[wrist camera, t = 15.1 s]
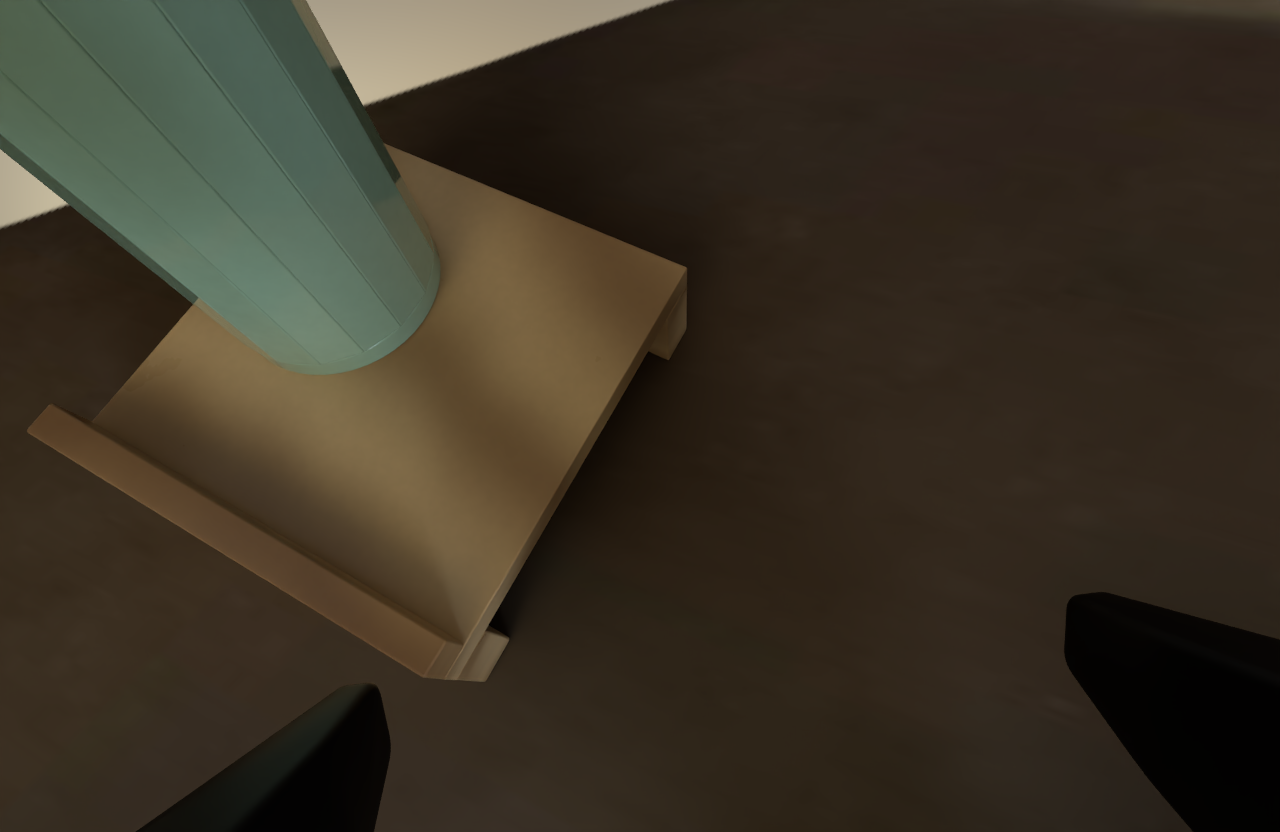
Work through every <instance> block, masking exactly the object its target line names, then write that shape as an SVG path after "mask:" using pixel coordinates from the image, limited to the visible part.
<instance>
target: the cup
mask: <svg viewBox="0 0 1280 832" xmlns="http://www.w3.org/2000/svg"><path fill="white" fill-rule="evenodd" d="M0 149H1V150H2V151H3V152H4V153H6V154H7V155H8V156H10V157H11V158H12V159H13V160H14V161H16V162H17V163H18V164H19V165H21V166H22V167H23V168H24V169H26V170H27V171H28V172H29V173H31V174H32V175H33V176H34V177H36V178H37V179H38V180H39V181H41V182H42V183H43V184H44V185H46V186H47V187H48V188H49V189H51V190H52V191H53V192H54V193H56V194H57V195H58V196H59V197H61V198H62V199H63V200H64V201H66V202H67V203H68V204H69V205H71V206H72V207H73V208H74V209H76V210H77V211H78V212H79V213H81V214H82V215H83V216H84V217H86V218H87V219H88V220H89V221H91V222H92V223H93V224H94V225H96V226H97V227H98V228H99V229H101V230H102V231H103V232H104V233H106V234H107V235H108V236H109V237H111V238H112V239H113V240H114V241H116V242H117V243H118V244H119V245H121V246H122V247H123V248H124V249H126V250H127V251H128V252H129V253H130V254H132V255H133V256H134V257H135V258H137V259H138V260H139V261H140V262H142V263H143V264H144V265H145V266H147V267H148V268H149V269H150V270H152V271H153V272H154V273H155V274H157V275H158V276H159V277H160V278H162V279H163V280H164V281H165V282H167V283H168V284H169V285H170V286H172V287H173V288H174V289H175V290H177V291H178V292H179V293H180V294H182V295H183V296H184V297H185V298H187V299H188V300H189V301H190V302H192V303H193V304H194V305H195V306H197V307H198V308H199V309H200V310H202V311H203V312H204V313H205V314H207V315H208V316H209V317H210V318H212V319H213V320H214V321H215V322H217V323H218V324H219V325H220V326H222V327H223V328H224V329H225V330H227V331H228V332H229V333H230V334H232V335H233V336H234V337H235V338H237V339H238V340H239V341H240V342H242V343H243V344H244V345H245V346H247V347H249V348H251V349H253V350H255V351H256V352H257V353H258V354H260V355H261V356H262V357H263V358H265V359H266V360H268V361H269V362H271V363H273V364H274V365H276V366H278V367H281V368H283V369H285V370H289V371H292V372H296V373H301V374H309V375H331V374H339V373H344V372H348V371H352V370H356V369H359V368H361V367H364V366H367V365H369V364H371V363H373V362H375V361H378V360H380V359H382V358H383V357H385V356H386V355H388V354H390V353H391V352H393V351H394V350H395V349H397V348H398V347H399V346H400V345H402V344H403V343H404V342H405V341H406V340H407V339H408V338H409V337H410V336H411V335H412V334H413V333H414V332H415V331H416V330H417V329H418V327H419V326H420V325H421V324H422V322H423V321H424V319H425V318H426V316H427V315H428V313H429V311H430V309H431V307H432V305H433V303H434V301H435V298H436V295H437V291H438V288H439V282H440V269H441V264H440V258H439V253H438V250H437V246H436V244H435V242H434V240H433V238H432V236H431V234H430V232H429V229H428V225H427V223H426V221H425V219H424V217H423V215H422V214H421V212H420V210H419V208H418V206H417V204H416V202H415V201H414V199H413V197H412V195H411V193H410V191H409V190H408V188H407V186H406V184H405V182H404V180H403V178H402V177H401V175H400V173H399V171H398V169H397V167H396V166H395V164H394V162H393V160H392V158H391V156H390V154H389V153H388V151H387V149H386V147H385V145H384V143H383V142H382V140H381V138H380V136H379V134H378V132H377V131H376V129H375V127H374V125H373V123H372V121H371V119H370V118H369V116H368V114H367V112H366V110H365V108H364V107H363V105H362V103H361V101H360V99H359V97H358V96H357V94H356V92H355V90H354V88H353V86H352V84H351V83H350V81H349V79H348V77H347V75H346V74H345V71H344V70H343V68H342V66H341V64H340V62H339V60H338V59H337V57H336V55H335V53H334V51H333V50H332V47H331V46H330V44H329V42H328V40H327V38H326V37H325V35H324V33H323V31H322V29H321V27H320V25H319V24H318V22H317V20H316V18H315V16H314V14H313V13H312V11H311V9H310V7H309V5H308V3H307V1H306V0H0Z"/></svg>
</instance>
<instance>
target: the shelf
mask: <svg viewBox="0 0 1280 832" xmlns="http://www.w3.org/2000/svg"><path fill="white" fill-rule="evenodd" d="M384 145H385V147H386V149H387V151H388V153H389V154H390V156H391V158H392V160H393V162H394V164H395V166H396V167H397V169H398V171H399V173H400V175H401V177H402V178H403V180H404V182H405V184H406V186H407V188H408V190H409V191H410V193H411V195H412V197H413V199H414V201H415V202H416V204H417V206H418V208H419V210H420V212H421V214H422V215H423V217H424V219H425V221H426V223H427V225H428V229H429V232H430V234H431V236H432V238H433V240H434V242H435V244H436V246H437V250H438V253H439V258H440V264H441V269H440V282H439V288H438V291H437V295H436V298H435V301H434V303H433V305H432V307H431V309H430V311H429V313H428V315H427V316H426V318H425V319H424V321H423V322H422V324H421V325H420V326H419V327H418V329H417V330H416V331H415V332H414V333H413V334H412V335H411V336H410V337H409V338H408V339H407V340H406V341H405V342H404V343H403V344H402V345H400V346H399V347H398V348H397V349H395V350H394V351H393V352H391V353H390V354H388V355H386V356H385V357H383V358H382V359H380V360H378V361H375V362H373V363H371V364H369V365H367V366H364V367H361V368H359V369H356V370H352V371H348V372H344V373H339V374H331V375H309V374H301V373H296V372H292V371H289V370H285V369H283V368H281V367H278V366H276V365H274V364H273V363H271V362H269V361H268V360H266V359H265V358H263V357H262V356H261V355H260V354H258V353H257V352H256V351H255V350H253V349H251V348H249V347H247V346H245V345H244V344H243V343H242V342H240V341H239V340H238V339H237V338H235V337H234V336H233V335H232V334H230V333H229V332H228V331H227V330H225V329H224V328H223V327H222V326H220V325H219V324H218V323H217V322H215V321H214V320H213V319H212V318H210V317H209V316H208V315H207V314H205V313H204V312H203V311H202V310H200V309H199V308H198V307H197V306H195V305H194V304H193V305H192V306H191V308H190V309H189V310H188V311H187V312H186V313H185V315H184V316H183V317H182V318H181V319H180V320H179V322H178V323H177V324H176V325H175V326H174V327H173V328H172V330H171V331H170V332H169V333H168V334H167V335H166V337H165V338H164V339H163V340H162V341H161V342H160V344H159V345H158V346H157V347H156V348H155V349H154V351H153V352H152V353H151V354H150V355H149V356H148V357H147V359H146V360H145V361H144V362H143V363H142V364H141V366H140V367H139V368H138V369H137V370H136V371H135V373H134V374H133V375H132V376H131V377H130V378H129V380H128V381H127V382H126V383H125V384H124V385H123V386H122V388H121V389H120V390H119V391H118V392H117V393H116V395H115V396H114V397H113V398H112V399H111V400H110V402H109V403H108V404H107V405H106V406H105V407H104V409H103V410H102V411H101V412H100V413H99V414H98V415H97V417H96V418H95V419H94V420H93V421H92V422H91V421H89V420H87V419H85V418H83V417H81V416H79V415H76V414H74V413H72V412H70V411H68V410H66V409H64V408H61V407H59V406H57V405H55V404H50V405H49V406H48V407H47V408H46V409H45V410H44V411H43V412H42V413H41V415H40V416H39V417H38V418H37V419H36V420H35V421H34V422H33V423H32V425H31V426H30V427H29V428H28V429H27V432H28V433H29V434H31V435H32V436H34V437H36V438H37V439H39V440H40V441H42V442H44V443H45V444H47V445H48V446H50V447H52V448H53V449H55V450H57V451H58V452H60V453H61V454H63V455H65V456H66V457H68V458H69V459H71V460H73V461H74V462H76V463H77V464H79V465H81V466H82V467H84V468H86V469H87V470H89V471H90V472H92V473H94V474H95V475H97V476H98V477H100V478H102V479H103V480H105V481H107V482H108V483H110V484H111V485H113V486H115V487H116V488H118V489H119V490H121V491H123V492H124V493H126V494H128V495H129V496H131V497H132V498H134V499H136V500H137V501H139V502H140V503H142V504H144V505H145V506H147V507H148V508H150V509H152V510H153V511H155V512H157V513H158V514H160V515H161V516H163V517H165V518H166V519H168V520H169V521H171V522H173V523H174V524H176V525H178V526H179V527H181V528H182V529H184V530H186V531H187V532H189V533H190V534H192V535H194V536H195V537H197V538H199V539H200V540H202V541H203V542H205V543H207V544H208V545H210V546H211V547H213V548H215V549H216V550H218V551H220V552H221V553H223V554H224V555H226V556H228V557H229V558H231V559H232V560H234V561H236V562H237V563H239V564H240V565H242V566H244V567H245V568H247V569H249V570H250V571H252V572H253V573H255V574H257V575H258V576H260V577H261V578H263V579H265V580H266V581H268V582H270V583H271V584H273V585H274V586H276V587H278V588H279V589H281V590H282V591H284V592H286V593H287V594H289V595H291V596H292V597H294V598H295V599H297V600H299V601H300V602H302V603H303V604H305V605H307V606H308V607H310V608H312V609H313V610H315V611H316V612H318V613H320V614H321V615H323V616H324V617H326V618H328V619H329V620H331V621H332V622H334V623H336V624H337V625H339V626H341V627H342V628H344V629H345V630H347V631H349V632H350V633H352V634H353V635H355V636H357V637H358V638H360V639H362V640H363V641H365V642H366V643H368V644H370V645H371V646H373V647H374V648H376V649H378V650H379V651H381V652H383V653H384V654H386V655H387V656H389V657H391V658H392V659H394V660H395V661H397V662H399V663H400V664H402V665H403V666H405V667H407V668H408V669H410V670H412V671H413V672H415V673H416V674H418V675H420V676H421V677H424V678H437V679H446V680H467V681H481V682H485V681H486V680H487V678H488V677H489V675H490V673H491V671H492V670H493V668H494V666H495V664H496V663H497V661H498V659H499V657H500V656H501V654H502V652H503V650H504V649H505V647H506V645H507V643H508V642H509V637H508V636H506V635H504V634H502V633H501V632H499V631H497V630H496V629H494V628H492V627H490V626H489V623H490V621H491V620H492V618H493V616H494V615H495V613H496V611H497V609H498V608H499V606H500V604H501V603H502V601H503V599H504V597H505V596H506V594H507V592H508V591H509V589H510V587H511V585H512V584H513V582H514V580H515V579H516V577H517V575H518V573H519V572H520V570H521V568H522V567H523V565H524V563H525V561H526V560H527V558H528V556H529V555H530V553H531V551H532V549H533V548H534V546H535V544H536V543H537V541H538V539H539V537H540V536H541V534H542V532H543V531H544V529H545V527H546V525H547V524H548V522H549V520H550V519H551V517H552V515H553V513H554V512H555V510H556V508H557V507H558V505H559V503H560V501H561V500H562V498H563V496H564V495H565V493H566V491H567V489H568V488H569V486H570V484H571V483H572V481H573V479H574V477H575V476H576V474H577V472H578V471H579V469H580V467H581V465H582V464H583V462H584V460H585V459H586V457H587V455H588V453H589V452H590V450H591V448H592V447H593V445H594V443H595V441H596V440H597V438H598V436H599V435H600V433H601V431H602V429H603V428H604V426H605V424H606V423H607V421H608V419H609V417H610V416H611V414H612V412H613V411H614V409H615V407H616V405H617V404H618V402H619V400H620V399H621V397H622V395H623V393H624V392H625V390H626V388H627V387H628V385H629V383H630V381H631V380H632V378H633V376H634V375H635V373H636V371H637V369H638V368H639V366H640V364H641V363H642V361H643V359H644V357H645V356H646V354H647V352H648V351H649V352H651V353H653V354H655V355H658V356H660V357H662V358H664V359H667V360H669V359H670V357H671V356H672V354H673V352H674V350H675V349H676V347H677V345H678V343H679V341H680V340H681V338H682V336H683V334H684V333H685V331H686V325H687V268H686V267H684V266H682V265H679V264H677V263H674V262H672V261H669V260H667V259H664V258H662V257H660V256H657V255H655V254H652V253H650V252H647V251H645V250H643V249H640V248H638V247H635V246H633V245H630V244H628V243H625V242H623V241H621V240H618V239H616V238H613V237H611V236H608V235H606V234H604V233H601V232H599V231H596V230H594V229H591V228H589V227H586V226H584V225H582V224H579V223H577V222H574V221H572V220H569V219H567V218H564V217H562V216H560V215H557V214H555V213H552V212H550V211H547V210H545V209H543V208H540V207H538V206H535V205H533V204H530V203H528V202H525V201H523V200H521V199H518V198H516V197H513V196H511V195H508V194H506V193H504V192H501V191H499V190H496V189H494V188H491V187H489V186H486V185H484V184H482V183H479V182H477V181H474V180H472V179H469V178H467V177H464V176H462V175H460V174H457V173H455V172H452V171H450V170H447V169H445V168H443V167H440V166H438V165H435V164H433V163H430V162H428V161H425V160H423V159H421V158H418V157H416V156H413V155H411V154H408V153H406V152H403V151H401V150H399V149H396V148H394V147H391V146H389V145H386V144H384Z"/></svg>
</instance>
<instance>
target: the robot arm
mask: <svg viewBox="0 0 1280 832" xmlns="http://www.w3.org/2000/svg"><path fill="white" fill-rule="evenodd" d="M1064 653H1065V659H1066V662H1067V665H1068V667H1069V669H1070V671H1071V673H1072V674H1073V676H1074V677H1075V678H1076V680H1077V681H1078V683H1079V684H1080V685H1081V687H1082V688H1083V690H1084V691H1085V692H1086V694H1087V695H1088V697H1089V698H1090V699H1091V701H1092V702H1093V703H1094V705H1095V706H1096V708H1097V709H1098V710H1099V712H1100V713H1101V715H1102V716H1103V717H1104V719H1105V720H1106V722H1107V723H1108V724H1109V726H1110V727H1111V729H1112V730H1113V731H1114V733H1115V734H1116V736H1117V737H1118V738H1119V740H1120V741H1121V743H1122V744H1123V745H1124V747H1125V748H1126V750H1127V751H1128V752H1129V754H1130V755H1131V756H1132V758H1133V759H1134V761H1135V762H1136V763H1137V764H1138V766H1139V767H1140V768H1141V770H1142V771H1143V772H1144V774H1145V775H1146V776H1147V778H1148V779H1149V780H1150V781H1151V782H1152V784H1153V785H1154V786H1155V787H1156V789H1157V790H1158V791H1159V792H1160V793H1161V795H1162V796H1163V797H1164V798H1165V799H1166V801H1167V802H1168V803H1169V804H1170V805H1171V806H1172V808H1173V809H1174V810H1175V811H1176V812H1177V813H1178V815H1179V816H1180V817H1181V818H1182V819H1183V820H1184V821H1185V823H1186V824H1187V825H1188V826H1189V827H1190V828H1191V830H1192V831H1193V832H1280V640H1279V639H1275V638H1271V637H1268V636H1264V635H1260V634H1257V633H1253V632H1250V631H1246V630H1242V629H1239V628H1235V627H1231V626H1228V625H1224V624H1220V623H1217V622H1213V621H1209V620H1206V619H1202V618H1198V617H1195V616H1191V615H1187V614H1184V613H1180V612H1176V611H1173V610H1169V609H1165V608H1162V607H1158V606H1154V605H1151V604H1147V603H1143V602H1140V601H1136V600H1132V599H1129V598H1125V597H1121V596H1118V595H1114V594H1110V593H1106V592H1096V593H1088V594H1080V595H1075V596H1073V597H1072V598H1071V599H1070V600H1069V602H1068V604H1067V610H1066V628H1065V645H1064ZM390 752H391V743H390V735H389V731H388V726H387V721H386V717H385V712H384V708H383V703H382V698H381V694H380V691H379V689H378V687H377V686H376V685H375V684H373V683H363V684H355V685H346V686H343V687H340V688H339V689H337V690H336V691H334V692H333V693H332V694H330V695H329V696H327V697H326V698H325V699H323V700H322V701H320V702H319V703H317V704H316V705H315V706H313V707H312V708H310V709H309V710H308V711H306V712H305V713H303V714H302V715H300V716H299V717H298V718H296V719H295V720H293V721H292V722H291V723H289V724H288V725H286V726H285V727H283V728H282V729H281V730H279V731H278V732H276V733H275V734H274V735H272V736H271V737H269V738H268V739H266V740H265V741H264V742H262V743H261V744H259V745H258V746H257V747H255V748H254V749H252V750H251V751H249V752H248V753H247V754H245V755H244V756H242V757H241V758H240V759H238V760H237V761H235V762H234V763H232V764H231V765H230V766H228V767H227V768H225V769H224V770H223V771H221V772H220V773H218V774H217V775H216V776H214V777H213V778H211V779H210V780H208V781H207V782H206V783H204V784H203V785H201V786H200V787H199V788H197V789H196V790H194V791H193V792H191V793H190V794H189V795H187V796H186V797H184V798H183V799H182V800H180V801H179V802H177V803H176V804H174V805H173V806H172V807H170V808H169V809H167V810H166V811H165V812H163V813H162V814H160V815H159V816H157V817H156V818H155V819H153V820H152V821H150V822H149V823H148V824H146V825H145V826H143V827H142V828H140V829H139V830H138V831H136V832H374V829H375V824H376V820H377V815H378V810H379V806H380V801H381V797H382V792H383V787H384V783H385V778H386V774H387V769H388V765H389V760H390Z"/></svg>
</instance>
